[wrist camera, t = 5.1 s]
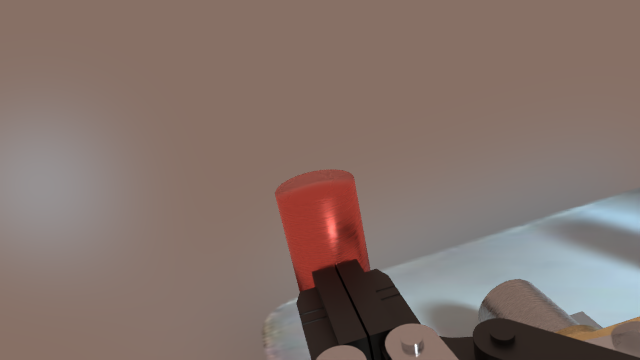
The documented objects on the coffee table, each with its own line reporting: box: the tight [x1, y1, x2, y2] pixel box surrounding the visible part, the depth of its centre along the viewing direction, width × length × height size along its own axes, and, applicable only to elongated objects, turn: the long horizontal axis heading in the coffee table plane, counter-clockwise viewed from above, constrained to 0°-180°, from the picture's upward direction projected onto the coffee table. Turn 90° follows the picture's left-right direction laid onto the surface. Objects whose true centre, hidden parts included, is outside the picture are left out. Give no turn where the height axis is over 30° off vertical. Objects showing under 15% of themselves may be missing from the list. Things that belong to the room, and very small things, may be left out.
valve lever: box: [275, 170, 640, 358], centre depth 16 cm, size 15×3×11 cm, turn 94°
